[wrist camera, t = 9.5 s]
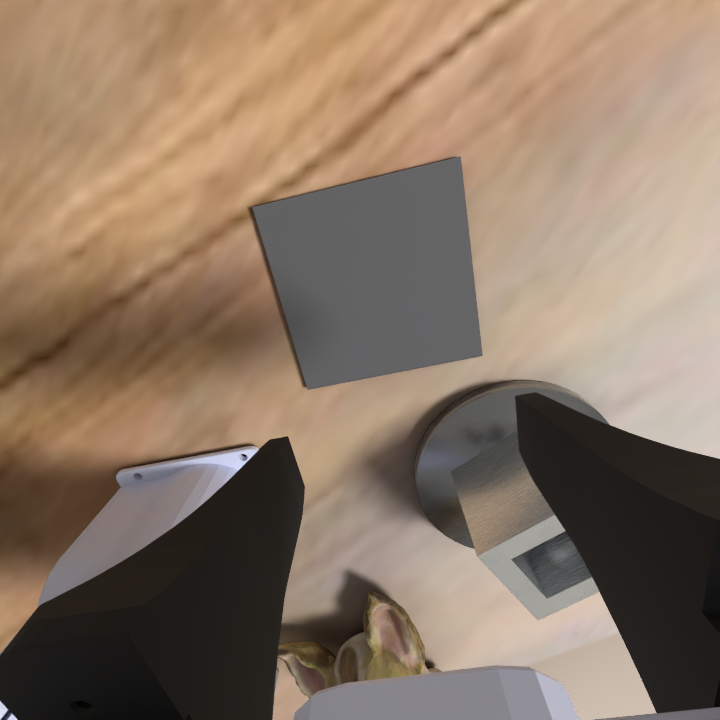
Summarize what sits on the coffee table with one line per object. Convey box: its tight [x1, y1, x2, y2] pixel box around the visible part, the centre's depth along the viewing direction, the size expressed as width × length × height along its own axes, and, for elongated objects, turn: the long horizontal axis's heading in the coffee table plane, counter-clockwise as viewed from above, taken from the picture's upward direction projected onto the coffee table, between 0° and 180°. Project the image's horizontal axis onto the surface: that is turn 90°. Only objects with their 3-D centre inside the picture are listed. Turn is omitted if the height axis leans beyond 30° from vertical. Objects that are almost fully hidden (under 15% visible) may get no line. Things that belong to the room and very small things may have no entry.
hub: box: [414, 380, 609, 549], centre depth 22 cm, size 12×12×5 cm
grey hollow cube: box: [450, 430, 600, 620], centre depth 20 cm, size 6×6×6 cm
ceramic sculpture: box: [278, 591, 442, 699], centre depth 27 cm, size 11×9×15 cm
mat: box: [252, 156, 482, 390], centre depth 20 cm, size 10×10×1 cm
